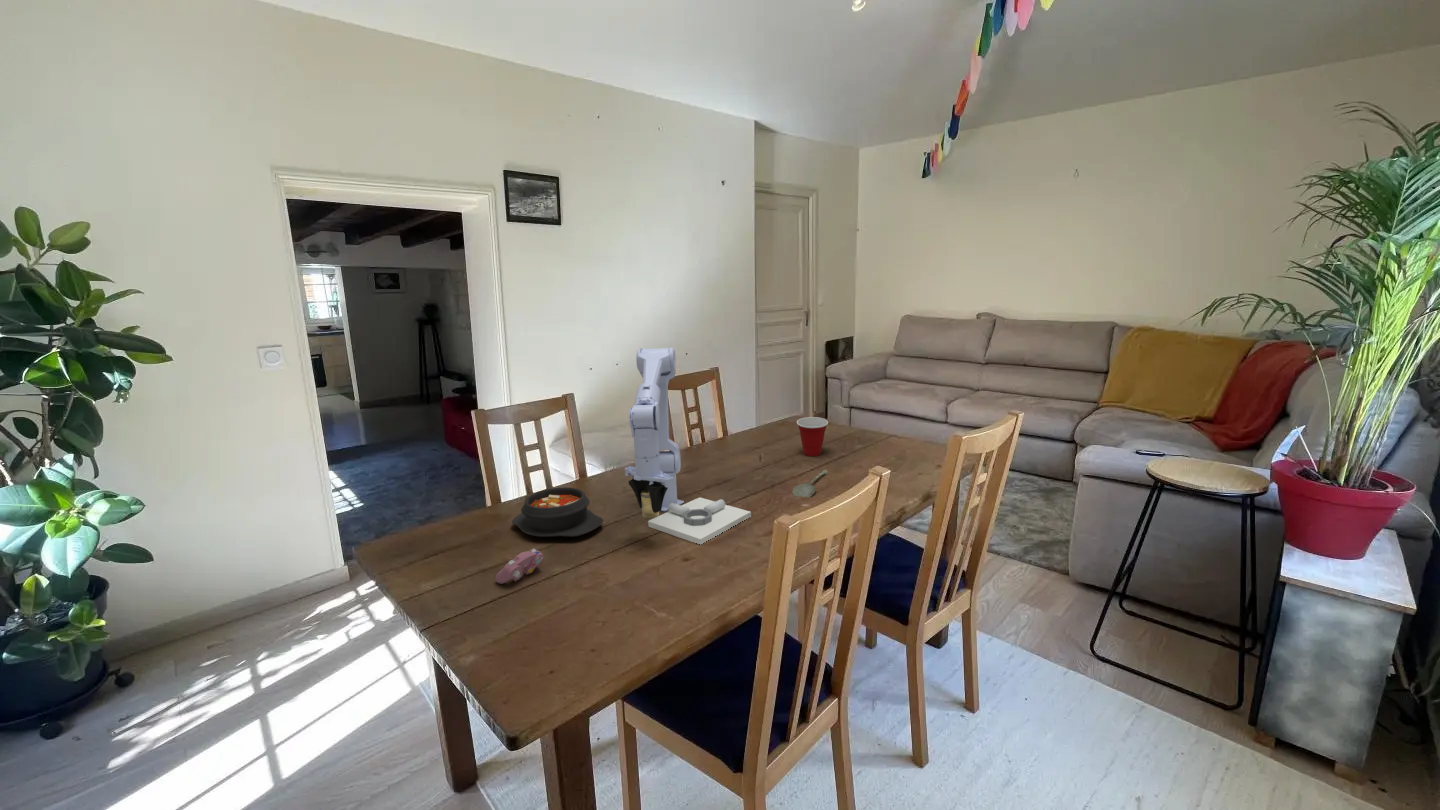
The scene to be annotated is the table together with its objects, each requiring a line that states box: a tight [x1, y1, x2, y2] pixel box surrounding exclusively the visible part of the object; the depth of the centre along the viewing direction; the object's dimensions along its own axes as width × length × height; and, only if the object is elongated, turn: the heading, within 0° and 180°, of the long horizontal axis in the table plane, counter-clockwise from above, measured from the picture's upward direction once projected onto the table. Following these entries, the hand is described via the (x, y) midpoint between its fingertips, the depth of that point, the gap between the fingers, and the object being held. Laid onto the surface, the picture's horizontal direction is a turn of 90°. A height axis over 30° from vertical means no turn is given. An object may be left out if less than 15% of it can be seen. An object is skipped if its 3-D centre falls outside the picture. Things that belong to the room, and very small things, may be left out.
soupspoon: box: [791, 469, 829, 498], centre depth 178 cm, size 22×3×7 cm
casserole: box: [511, 487, 604, 538], centre depth 153 cm, size 25×19×8 cm
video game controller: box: [495, 548, 545, 585], centre depth 128 cm, size 10×5×7 cm, turn 148°
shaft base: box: [647, 496, 752, 546], centre depth 154 cm, size 18×20×4 cm
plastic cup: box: [796, 416, 829, 457], centre depth 206 cm, size 11×11×12 cm
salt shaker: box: [640, 489, 660, 519], centre depth 142 cm, size 4×4×6 cm
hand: (650, 509), depth 142 cm, fingers closed on salt shaker, 4 cm apart
